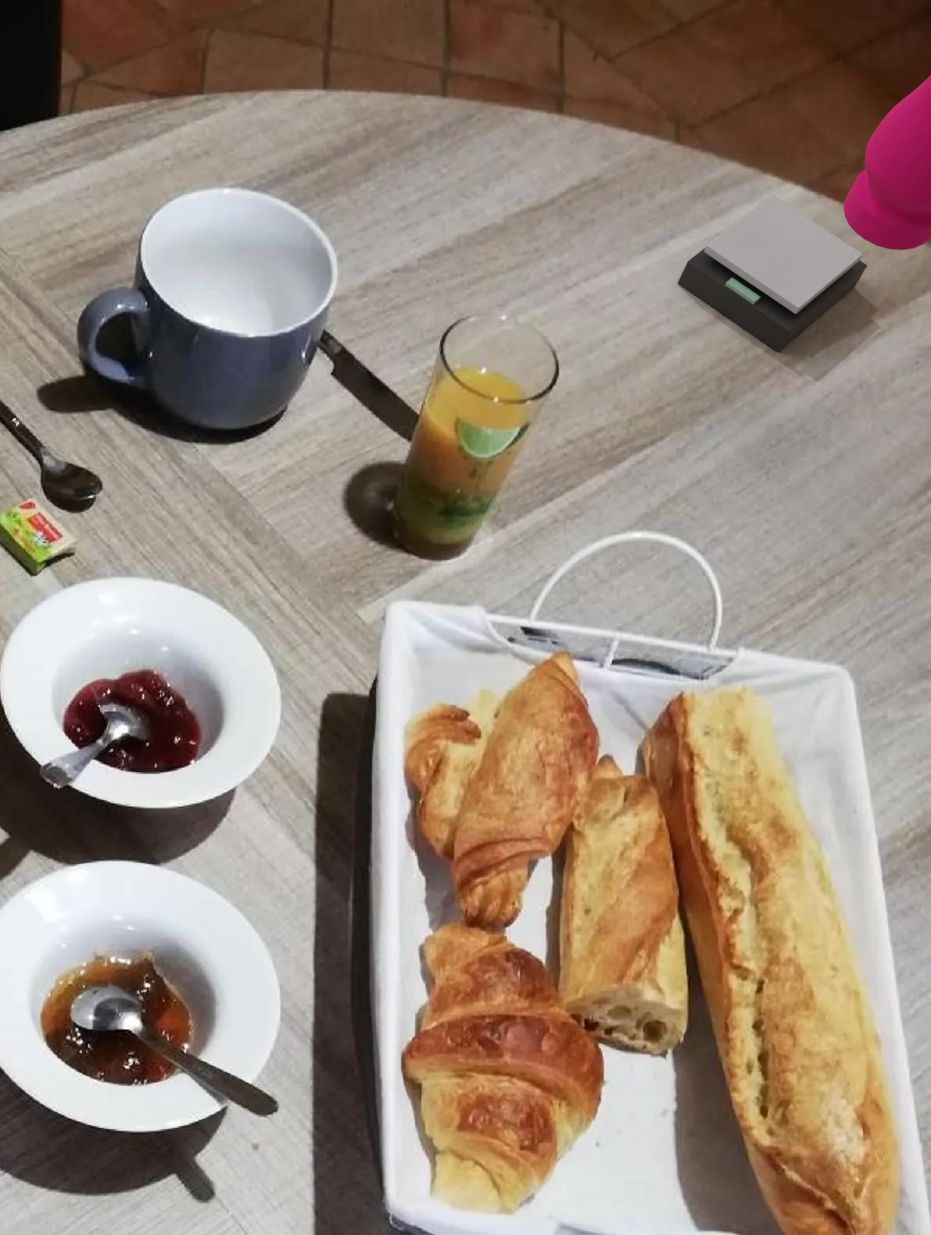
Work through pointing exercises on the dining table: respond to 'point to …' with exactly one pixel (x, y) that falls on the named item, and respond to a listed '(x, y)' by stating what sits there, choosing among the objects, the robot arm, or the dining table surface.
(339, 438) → the dining table surface
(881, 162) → the pepper mill
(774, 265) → the scale
